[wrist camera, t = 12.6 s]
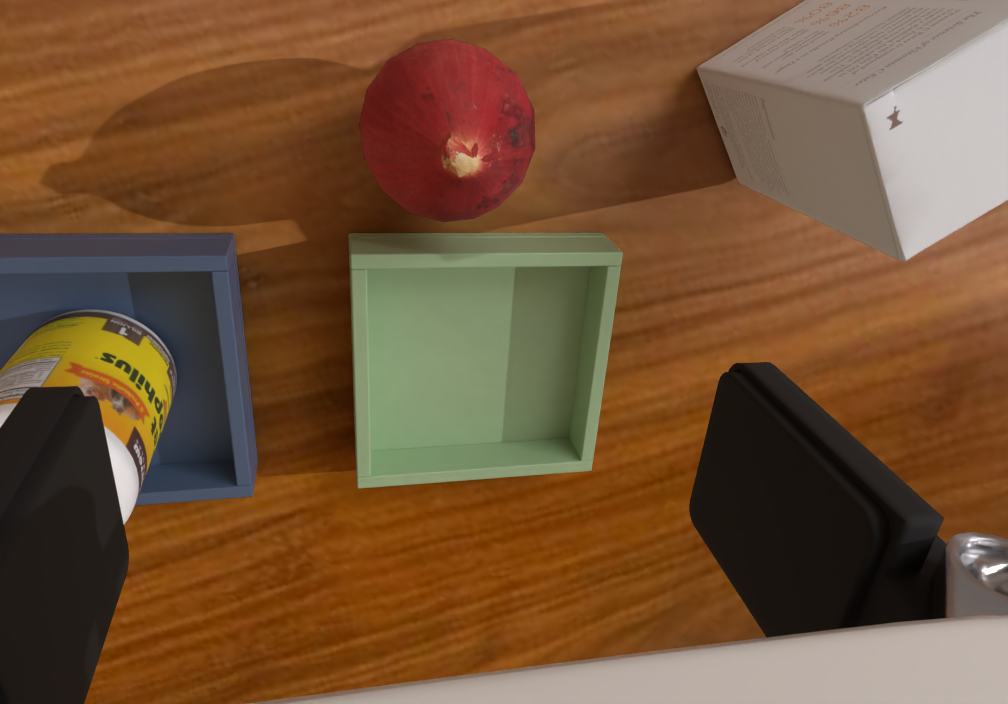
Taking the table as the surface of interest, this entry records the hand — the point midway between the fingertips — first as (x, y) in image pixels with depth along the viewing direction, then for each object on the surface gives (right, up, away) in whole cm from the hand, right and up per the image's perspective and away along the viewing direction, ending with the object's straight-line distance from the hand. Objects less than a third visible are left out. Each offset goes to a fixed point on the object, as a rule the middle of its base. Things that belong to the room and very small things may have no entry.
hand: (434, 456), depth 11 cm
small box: (+13, +13, +19) cm, 27 cm away
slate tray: (-15, +1, +18) cm, 24 cm away
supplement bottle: (-15, +1, +18) cm, 23 cm away
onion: (-2, +11, +17) cm, 20 cm away
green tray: (0, +2, +22) cm, 22 cm away
